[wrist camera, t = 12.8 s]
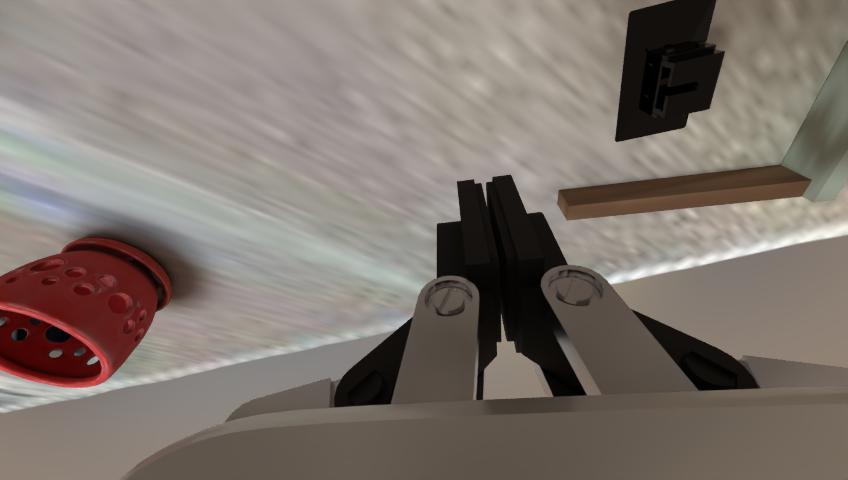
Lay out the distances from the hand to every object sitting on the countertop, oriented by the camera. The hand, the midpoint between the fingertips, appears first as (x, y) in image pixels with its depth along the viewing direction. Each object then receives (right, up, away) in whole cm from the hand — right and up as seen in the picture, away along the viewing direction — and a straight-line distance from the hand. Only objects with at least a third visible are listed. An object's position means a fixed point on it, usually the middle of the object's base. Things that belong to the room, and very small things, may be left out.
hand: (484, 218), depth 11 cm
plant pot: (-38, -4, +29) cm, 48 cm away
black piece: (+16, +12, +15) cm, 25 cm away
